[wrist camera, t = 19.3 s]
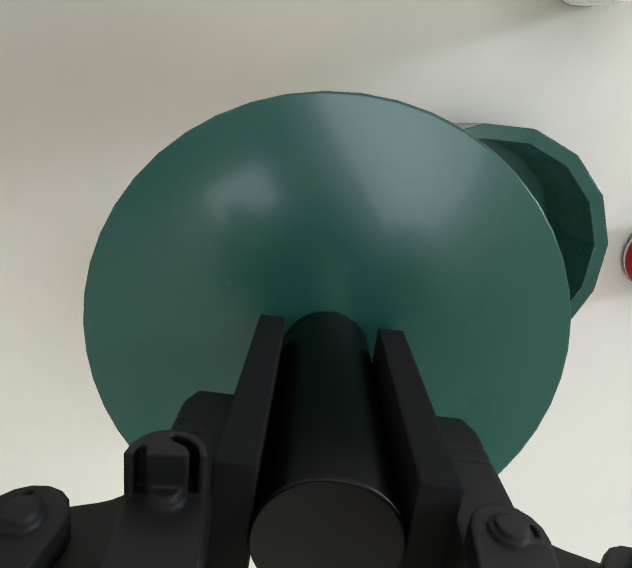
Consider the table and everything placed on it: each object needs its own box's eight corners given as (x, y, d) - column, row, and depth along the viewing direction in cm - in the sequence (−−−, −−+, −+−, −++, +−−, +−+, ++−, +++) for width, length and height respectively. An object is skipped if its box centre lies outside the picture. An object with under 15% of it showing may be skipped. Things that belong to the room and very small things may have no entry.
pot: (339, 314, 37) (343, 353, 30) (365, 113, 32) (376, 111, 26) (527, 333, 37) (568, 374, 31) (580, 136, 32) (640, 140, 26)
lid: (103, 492, 19) (-69, 779, 11) (93, 61, 14) (-244, -34, 6) (493, 534, 19) (621, 843, 11) (616, 129, 14) (1018, 133, 6)
